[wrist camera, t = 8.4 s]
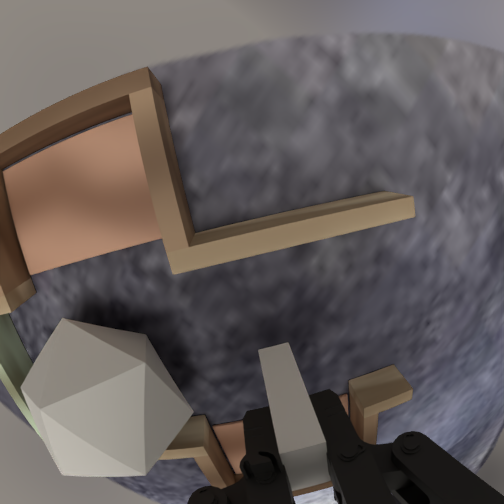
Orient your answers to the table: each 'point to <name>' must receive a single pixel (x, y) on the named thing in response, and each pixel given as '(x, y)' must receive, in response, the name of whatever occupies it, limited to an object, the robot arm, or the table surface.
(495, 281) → the table surface
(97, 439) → the die
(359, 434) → the channel
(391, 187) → the table surface
